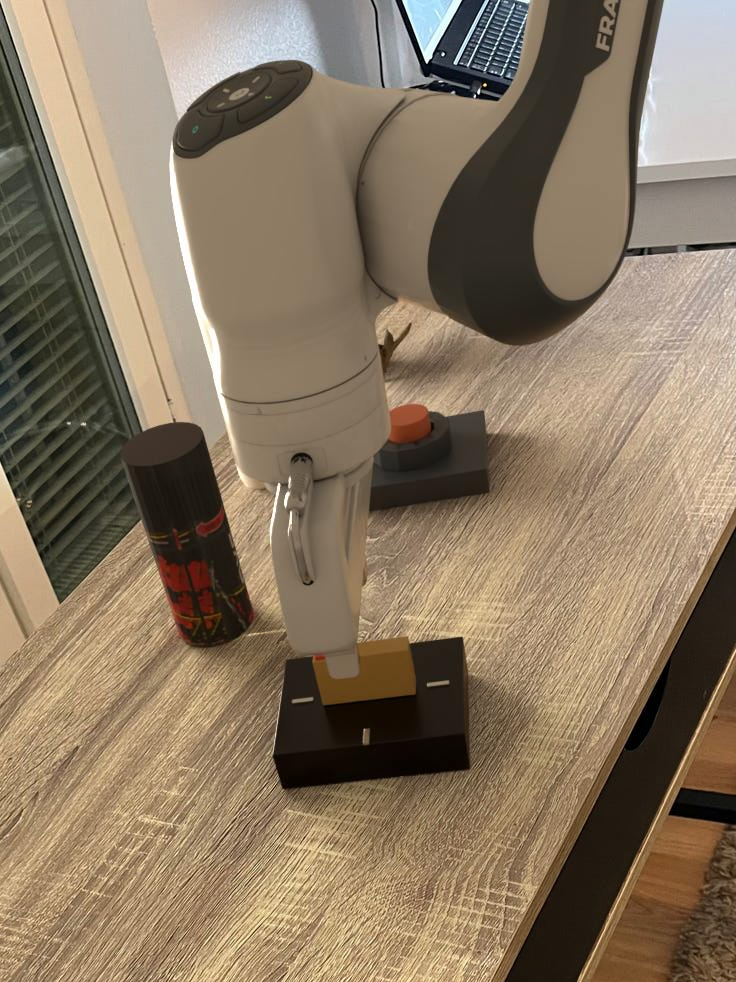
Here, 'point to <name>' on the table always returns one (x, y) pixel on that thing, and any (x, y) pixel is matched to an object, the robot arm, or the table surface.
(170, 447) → the deodorant
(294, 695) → the black flat block
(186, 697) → the table surface
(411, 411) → the bell button
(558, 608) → the table surface
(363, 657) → the lock knob
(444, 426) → the bell box
